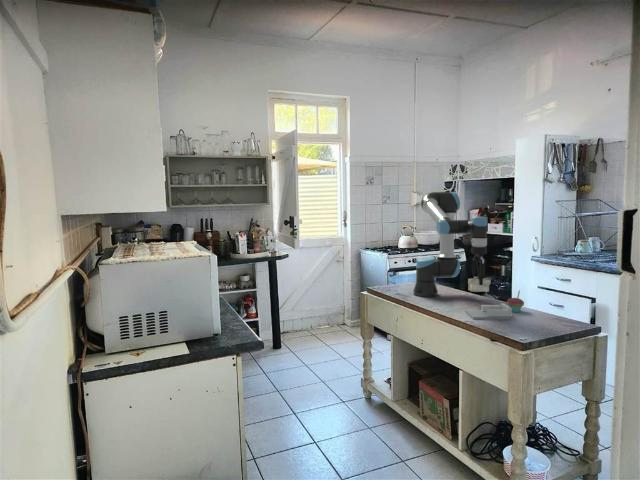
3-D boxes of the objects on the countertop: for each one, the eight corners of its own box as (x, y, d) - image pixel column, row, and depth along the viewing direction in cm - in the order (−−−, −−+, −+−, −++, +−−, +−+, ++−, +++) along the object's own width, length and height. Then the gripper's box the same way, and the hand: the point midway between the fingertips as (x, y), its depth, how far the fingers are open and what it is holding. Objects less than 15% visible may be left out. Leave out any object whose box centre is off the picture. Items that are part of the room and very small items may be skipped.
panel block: (468, 289, 222) (468, 278, 222) (485, 289, 222) (485, 278, 222) (471, 291, 217) (471, 280, 217) (488, 291, 217) (489, 280, 217)
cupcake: (524, 310, 225) (525, 288, 224) (523, 313, 218) (523, 291, 217) (507, 308, 230) (507, 286, 228) (505, 311, 222) (505, 289, 221)
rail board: (464, 311, 223) (465, 302, 223) (503, 311, 222) (503, 302, 222) (472, 319, 209) (473, 309, 209) (513, 319, 208) (514, 309, 208)
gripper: (466, 244, 227) (465, 286, 229) (477, 247, 209) (476, 293, 211) (480, 244, 227) (479, 286, 229) (492, 247, 209) (491, 293, 211)
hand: (478, 289), depth 220 cm, fingers closed on panel block, 5 cm apart
